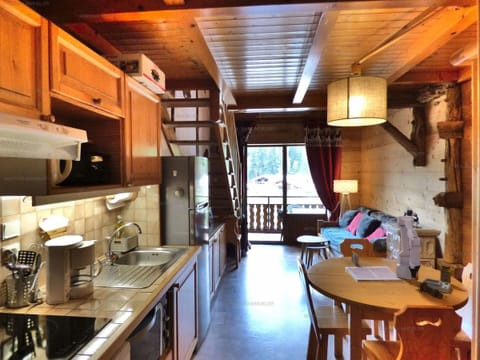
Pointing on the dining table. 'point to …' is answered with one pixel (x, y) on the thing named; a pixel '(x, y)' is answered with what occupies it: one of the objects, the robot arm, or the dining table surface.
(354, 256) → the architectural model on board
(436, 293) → the bolt
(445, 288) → the button control panel
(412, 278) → the orange short cylinder
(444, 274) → the yellow metal cylinder
